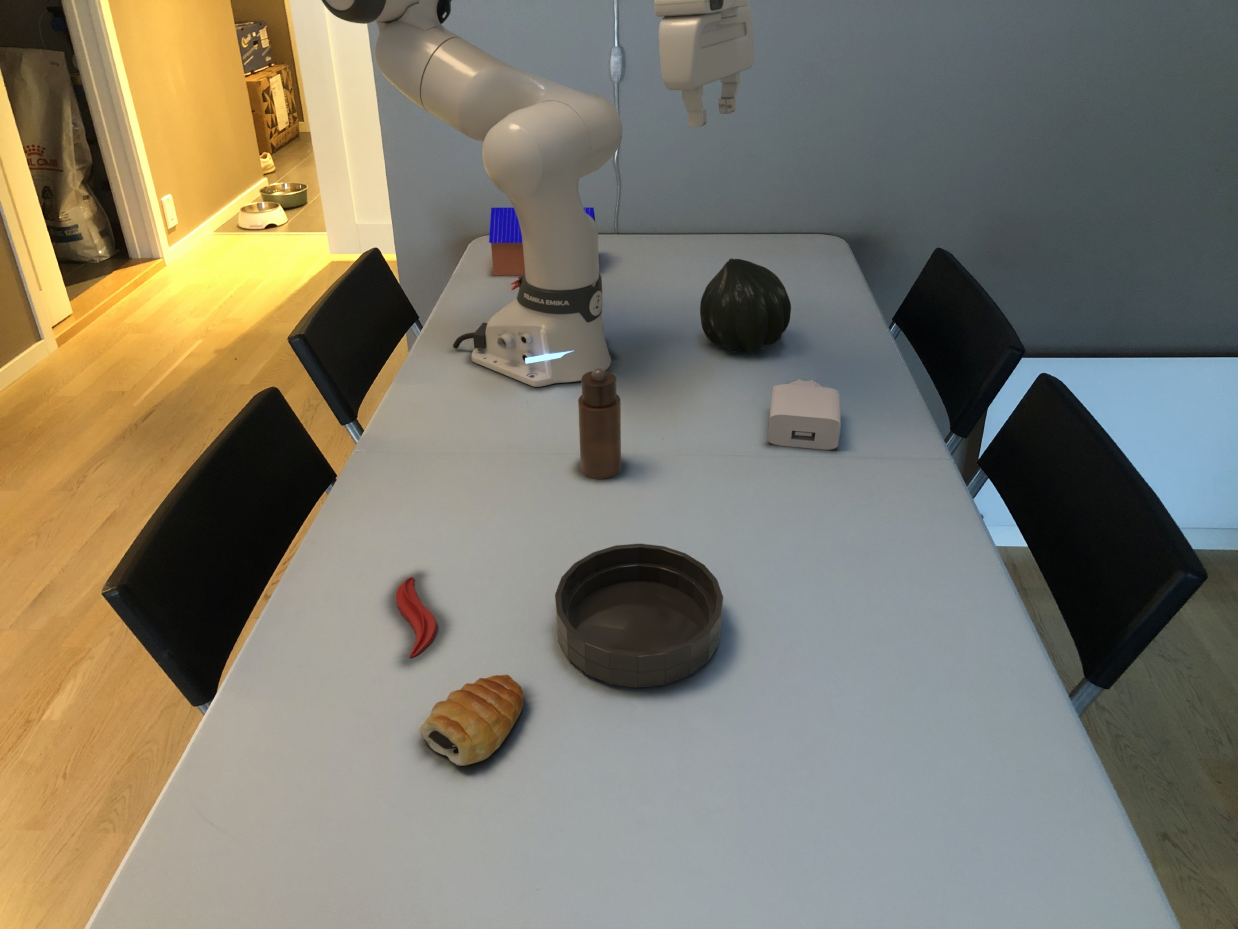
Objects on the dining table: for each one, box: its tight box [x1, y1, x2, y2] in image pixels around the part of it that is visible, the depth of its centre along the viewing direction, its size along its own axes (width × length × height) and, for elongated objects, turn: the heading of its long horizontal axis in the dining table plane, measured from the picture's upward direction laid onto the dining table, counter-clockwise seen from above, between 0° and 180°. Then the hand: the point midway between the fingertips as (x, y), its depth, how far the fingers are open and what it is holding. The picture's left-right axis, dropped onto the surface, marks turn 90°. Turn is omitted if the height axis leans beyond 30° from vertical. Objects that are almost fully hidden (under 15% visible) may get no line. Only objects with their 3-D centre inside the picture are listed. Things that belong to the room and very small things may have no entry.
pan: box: [554, 543, 724, 689], centre depth 85 cm, size 16×16×4 cm
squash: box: [699, 257, 792, 354], centre depth 140 cm, size 14×15×15 cm
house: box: [488, 206, 596, 276], centre depth 172 cm, size 12×20×12 cm, turn 89°
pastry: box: [419, 674, 525, 767], centre depth 76 cm, size 9×7×4 cm
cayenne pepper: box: [395, 576, 438, 659], centre depth 88 cm, size 12×5×2 cm, turn 5°
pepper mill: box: [577, 368, 622, 480], centre depth 108 cm, size 5×5×14 cm
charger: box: [766, 378, 842, 451], centre depth 120 cm, size 5×9×15 cm
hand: (712, 119), depth 107 cm, fingers open, 8 cm apart
